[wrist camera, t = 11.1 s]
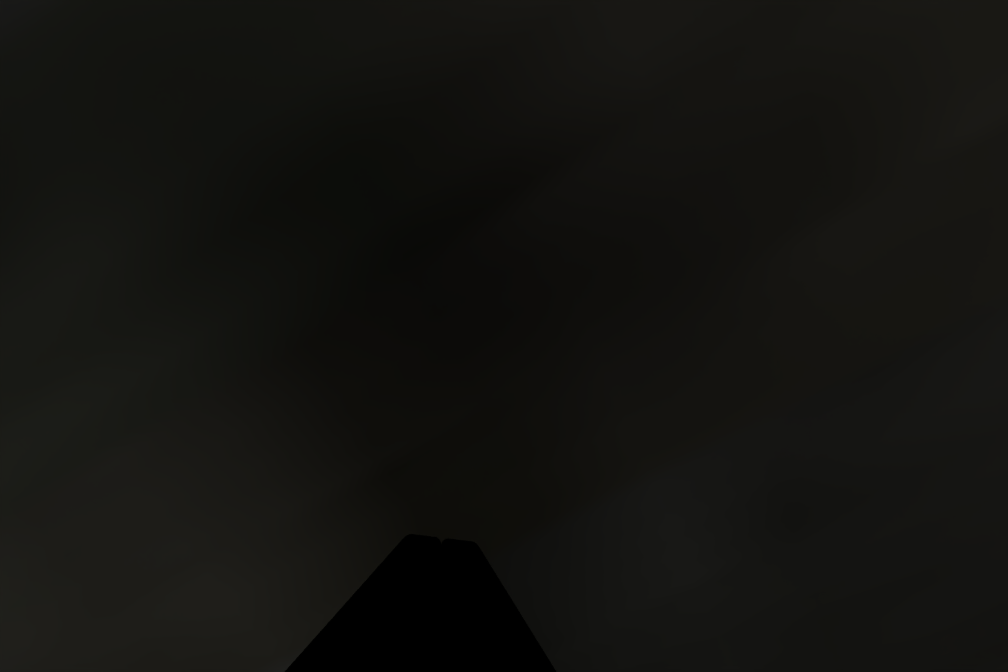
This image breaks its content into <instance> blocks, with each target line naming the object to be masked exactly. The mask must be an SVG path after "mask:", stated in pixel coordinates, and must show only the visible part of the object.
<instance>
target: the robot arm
mask: <svg viewBox="0 0 1008 672" xmlns="http://www.w3.org/2000/svg"><path fill="white" fill-rule="evenodd" d="M285 672H556V670H555V669H554V667H553V666H552V664H551V662H550V661H549V659H548V657H547V656H546V654H545V653H544V651H543V649H542V648H541V646H540V645H539V643H538V641H537V640H536V638H535V636H534V635H533V633H532V632H531V630H530V628H529V627H528V625H527V624H526V622H525V620H524V619H523V617H522V615H521V614H520V612H519V611H518V609H517V607H516V606H515V604H514V603H513V601H512V599H511V598H510V596H509V594H508V593H507V591H506V590H505V588H504V586H503V585H502V583H501V582H500V580H499V578H498V577H497V575H496V573H495V572H494V570H493V569H492V567H491V565H490V564H489V562H488V560H487V559H486V557H485V556H484V554H483V552H482V551H481V549H480V548H479V546H478V545H477V544H476V543H475V542H472V541H464V540H456V539H445V540H443V542H442V544H441V542H440V540H439V539H438V538H437V537H431V536H423V535H415V534H409V535H407V536H405V537H404V538H403V539H402V540H401V542H400V543H399V544H398V545H397V546H396V547H395V548H394V549H393V551H392V552H391V553H390V554H389V555H388V556H387V557H386V558H385V560H384V561H383V562H382V563H381V564H380V565H379V566H378V567H377V569H376V570H375V571H374V572H373V573H372V574H371V575H370V576H369V578H368V579H367V580H366V581H365V582H364V583H363V584H362V585H361V586H360V588H359V589H358V590H357V591H356V592H355V593H354V594H353V595H352V597H351V598H350V599H349V600H348V601H347V602H346V603H345V604H344V606H343V607H342V608H341V609H340V610H339V611H338V612H337V613H336V615H335V616H334V617H333V618H332V619H331V620H330V621H329V622H328V624H327V625H326V626H325V627H324V628H323V629H322V630H321V631H320V633H319V634H318V635H317V636H316V637H315V638H314V639H313V640H312V642H311V643H310V644H309V645H308V646H307V647H306V648H305V649H304V651H303V652H302V653H301V654H300V655H299V656H298V657H297V658H296V660H295V661H294V662H293V663H292V664H291V665H290V666H289V667H288V669H287V670H286V671H285Z"/></svg>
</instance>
